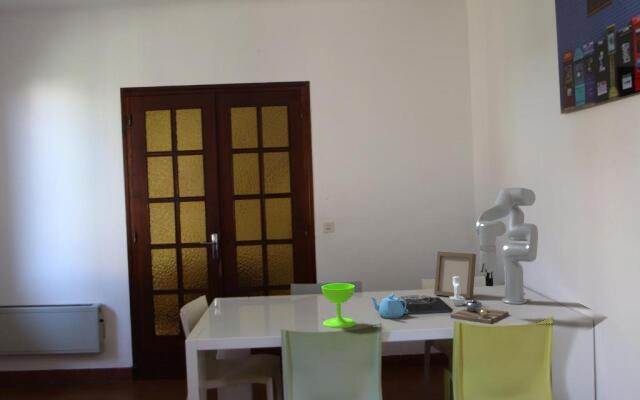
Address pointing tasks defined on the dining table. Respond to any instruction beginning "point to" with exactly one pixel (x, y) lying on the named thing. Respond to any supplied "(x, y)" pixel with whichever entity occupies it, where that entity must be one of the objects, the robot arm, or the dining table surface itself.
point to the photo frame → (455, 273)
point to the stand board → (476, 317)
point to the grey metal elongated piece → (476, 307)
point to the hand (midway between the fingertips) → (489, 285)
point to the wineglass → (338, 303)
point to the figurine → (457, 293)
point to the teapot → (390, 307)
